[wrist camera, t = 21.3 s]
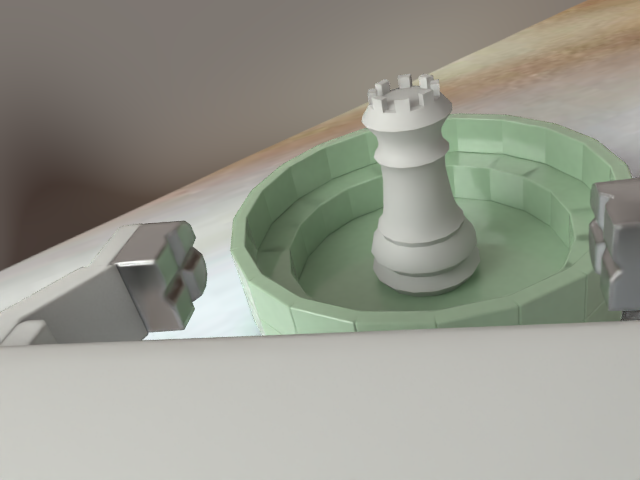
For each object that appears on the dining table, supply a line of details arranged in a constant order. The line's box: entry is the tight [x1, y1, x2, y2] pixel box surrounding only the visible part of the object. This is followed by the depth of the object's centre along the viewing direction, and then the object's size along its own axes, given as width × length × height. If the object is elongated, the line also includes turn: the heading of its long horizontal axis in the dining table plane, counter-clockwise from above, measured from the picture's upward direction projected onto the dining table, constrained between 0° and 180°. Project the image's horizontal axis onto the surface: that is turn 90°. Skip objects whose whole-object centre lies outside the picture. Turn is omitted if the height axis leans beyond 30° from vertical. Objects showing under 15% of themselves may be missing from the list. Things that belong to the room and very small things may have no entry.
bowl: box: [230, 113, 632, 336], centre depth 24 cm, size 15×15×4 cm
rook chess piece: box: [362, 74, 480, 297], centre depth 23 cm, size 4×4×8 cm
